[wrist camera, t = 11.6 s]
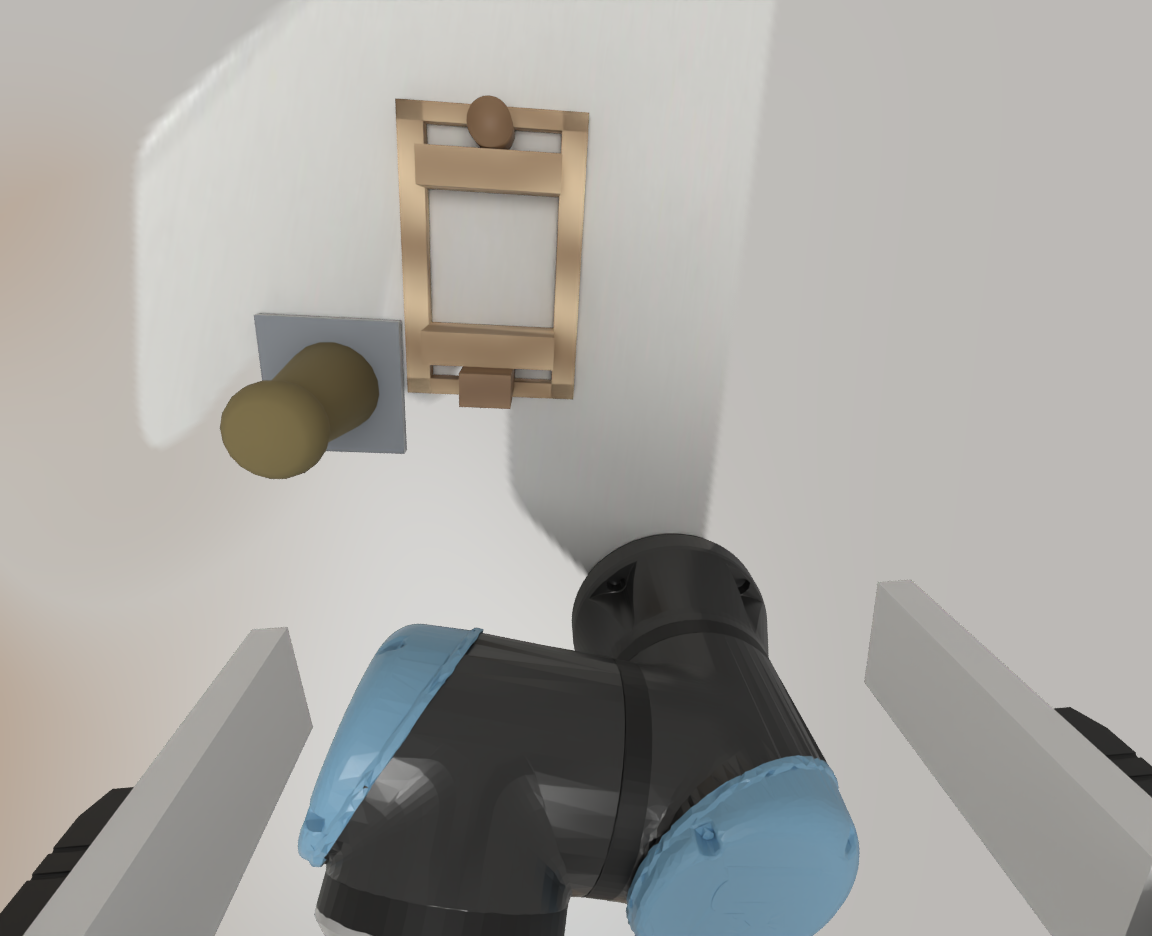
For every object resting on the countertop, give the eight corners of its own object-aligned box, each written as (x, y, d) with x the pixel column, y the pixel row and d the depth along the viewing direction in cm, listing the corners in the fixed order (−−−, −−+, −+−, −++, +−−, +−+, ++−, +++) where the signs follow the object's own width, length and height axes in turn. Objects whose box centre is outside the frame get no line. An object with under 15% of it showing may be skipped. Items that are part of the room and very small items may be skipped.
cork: (345, 325, 39) (276, 359, 29) (396, 406, 41) (349, 465, 31) (266, 367, 40) (172, 415, 30) (321, 445, 42) (249, 514, 32)
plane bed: (572, 394, 43) (576, 419, 37) (411, 387, 42) (391, 412, 36) (587, 116, 37) (595, 95, 31) (399, 102, 36) (373, 78, 30)
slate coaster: (406, 449, 43) (404, 453, 43) (275, 445, 43) (271, 449, 42) (400, 320, 40) (398, 322, 39) (259, 313, 40) (253, 314, 39)
